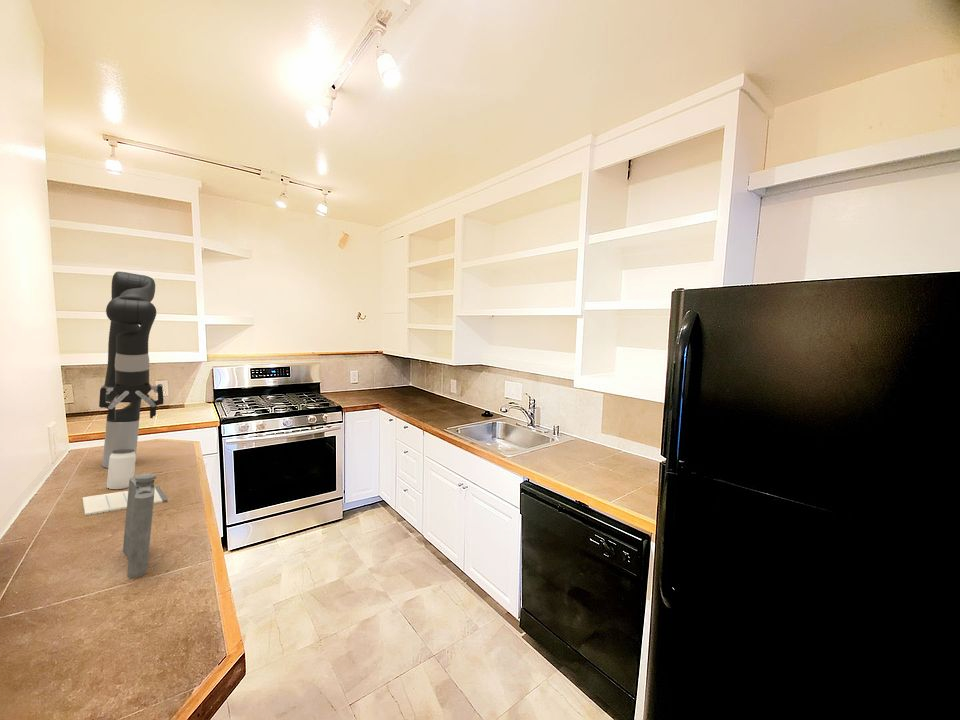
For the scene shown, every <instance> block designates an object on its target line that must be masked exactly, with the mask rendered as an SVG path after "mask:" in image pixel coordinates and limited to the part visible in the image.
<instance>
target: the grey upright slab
mask: <svg viewBox="0 0 960 720" xmlns="http://www.w3.org/2000/svg"><path fill="white" fill-rule="evenodd" d="M156 477H157V476H156V474H155V473H143V474H139V475H136V476H134V477H133V478H130V479H129V488H128V490H127V491H128V500H127V509H126V513H125V522H124V523H125V524H124V535H123V544H122V546H123V547H122V552H123V554H125V555H126V558H127V560H128V562H127V563H128V564H127V574H126V577H127V578H131V579H134V578H140V577H142V576H144V575H145V574H146V573H147V570H148V566H149V565H148V563H149V553H150V546H151V545H150V544H151V543H150V542H151V533H152V523H153V513H154V512H153V510H154V504H153V503H154V492H155V485H154V484H155V480H156Z"/></svg>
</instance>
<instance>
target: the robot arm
mask: <svg viewBox="0 0 960 720" xmlns="http://www.w3.org/2000/svg"><path fill="white" fill-rule="evenodd" d="M111 278H112V279H111V299H110V301H109V302H108V303H107V305H106V308H105V315H106V316H107V319H108V320H109V321H110V324H109V325H110V326H109V332H108V345H107V347H108V348H107V349H108V350H107V367H106V374H105V381H104V384H103V385H101V387H100V389H99V400H98V401H99V402H98V407H99V408H104V409H106V410H108V413H107V414H106V423H105V433H104V434H105V435H104V445H103V455H102V467H103V468H106V469H108V467H109V458H110V455H111V454H112V451H114V450H119V449H134V450H135V451H134V452H135V454H136V455H137V450H138V449H137V447H138V440H139V439H138V438H139V428H140V416H141V405H142V400H143V401H144V402H145V403H147V404H148V405H149V419H154V417H156V415H157V406H159V405H163V404H164V388H163V384H160V383H159V384H157V385H151V384H150V356H149V339H150V333H151V329H152V327H153V324H154V322H155V320H156V317H157V309H156V306H155V305H154V304H153V303H152V301H153V300H154V297H155V293H156V282H155V280H154V279H153V277H151V276H148V275H144V274H138V273H132V272H125V271H116V272H114V274H113V275H112V277H111ZM151 391H153V392H154V393H156V394H157V400H155V399H154V398H153V397H152V396H151V395H150V394H149V393H150V392H151ZM120 403H129V405H127V406H125V407H123V408H121V409H120V408H119V409H116V406H117V405H118V404H120ZM135 462H136V460H135Z"/></svg>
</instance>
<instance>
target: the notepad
mask: <svg viewBox="0 0 960 720" xmlns="http://www.w3.org/2000/svg"><path fill="white" fill-rule="evenodd" d="M154 487H155V492H154V503H153V505H156V504H161V503H168V498H167V497H166V495H165V493H164V491H163V490H162V488H161V486H160V485H154ZM127 500H128V490H125V491H124V490H123V491H117V492H116V491H115V492H111V493H105V494H104V493H103V494H96V495H88V496H83V497H82V505H83V506H82V507H83V511H84V512H83V513H84V516H85V517H86V515H87V516H91V514H92V515H98V514H104V513H108V512H109V511H110V512H115V511H116V512H117V511H120V510H121V509H122V510H127ZM103 512H104V513H103ZM110 512H109V513H110ZM97 513H98V514H97Z"/></svg>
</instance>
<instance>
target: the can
mask: <svg viewBox="0 0 960 720" xmlns="http://www.w3.org/2000/svg"><path fill="white" fill-rule="evenodd" d="M134 451H135V450H134V449H119V450H114V451H112V454H111V455H110V458H109V467H108V468H107V478H106V479H107V480H106V488H107V489H108V488H109V489H108V490H110V489H116V490H115V491H117V490H118V489H120V490H125V488H126V489H129V479H130V478H133V477H135V470H136V461H135V460H136V459H137V453H136V454H135V452H134ZM118 491H119V490H118Z"/></svg>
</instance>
